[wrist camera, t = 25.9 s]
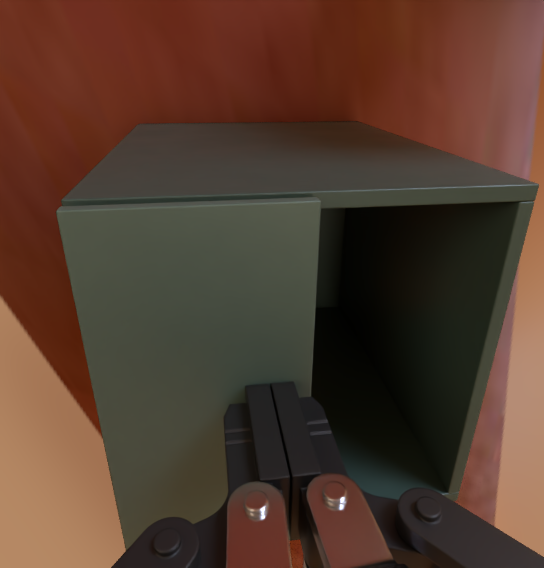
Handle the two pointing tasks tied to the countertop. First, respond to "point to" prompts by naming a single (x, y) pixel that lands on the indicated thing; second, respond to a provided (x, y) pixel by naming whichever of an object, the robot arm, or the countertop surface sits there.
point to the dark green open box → (365, 272)
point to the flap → (187, 334)
